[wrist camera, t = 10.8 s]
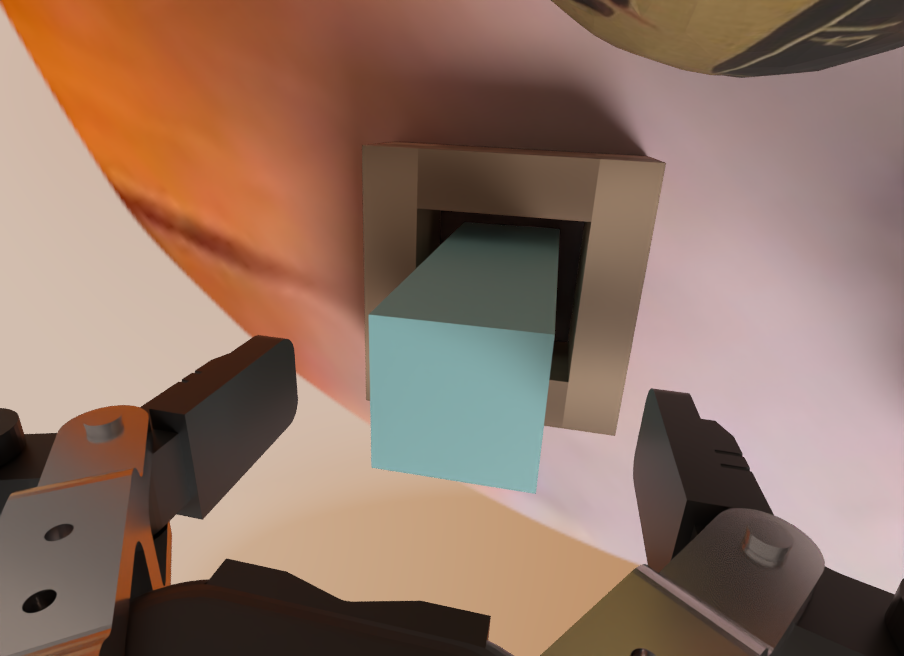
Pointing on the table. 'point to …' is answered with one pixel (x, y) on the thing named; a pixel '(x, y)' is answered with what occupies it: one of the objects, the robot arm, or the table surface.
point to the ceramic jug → (744, 32)
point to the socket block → (528, 195)
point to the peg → (467, 359)
